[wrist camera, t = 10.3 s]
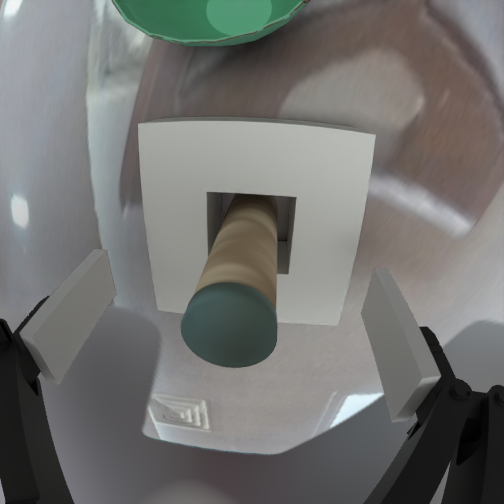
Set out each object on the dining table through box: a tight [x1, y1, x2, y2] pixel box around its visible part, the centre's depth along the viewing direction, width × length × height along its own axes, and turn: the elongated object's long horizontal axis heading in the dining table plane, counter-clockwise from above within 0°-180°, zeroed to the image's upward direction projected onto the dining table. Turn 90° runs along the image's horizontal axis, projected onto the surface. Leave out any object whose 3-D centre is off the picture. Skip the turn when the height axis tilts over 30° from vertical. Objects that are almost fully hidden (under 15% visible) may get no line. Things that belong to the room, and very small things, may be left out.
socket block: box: [138, 117, 376, 325], centre depth 21 cm, size 14×14×5 cm
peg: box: [181, 193, 277, 368], centre depth 17 cm, size 4×4×14 cm
